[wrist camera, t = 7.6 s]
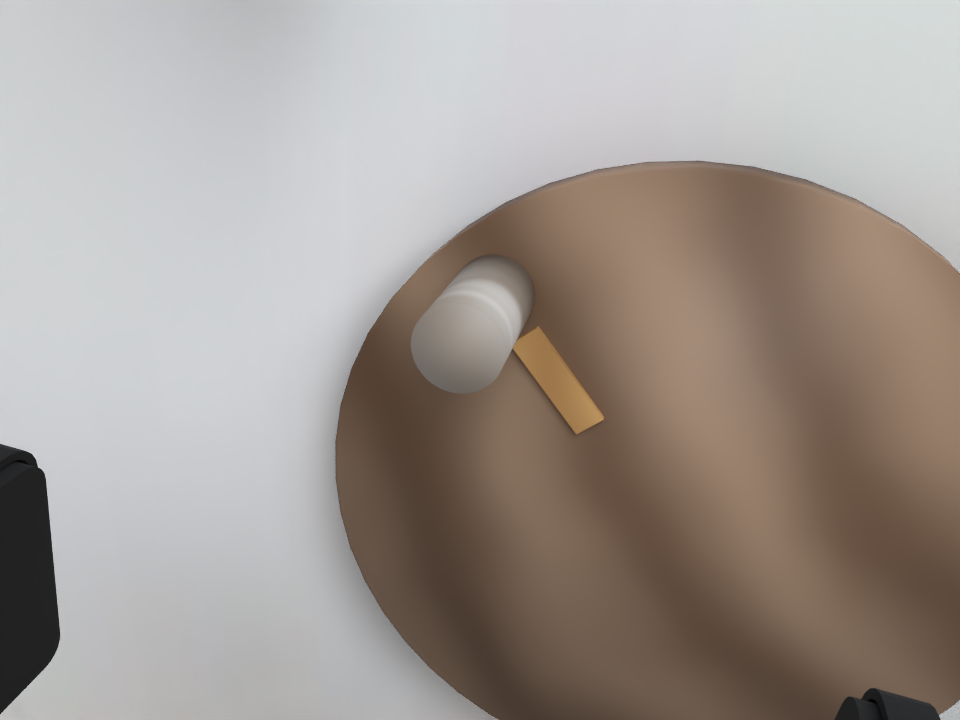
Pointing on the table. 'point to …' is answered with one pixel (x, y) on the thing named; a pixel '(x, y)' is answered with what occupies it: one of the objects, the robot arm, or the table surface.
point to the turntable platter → (666, 452)
